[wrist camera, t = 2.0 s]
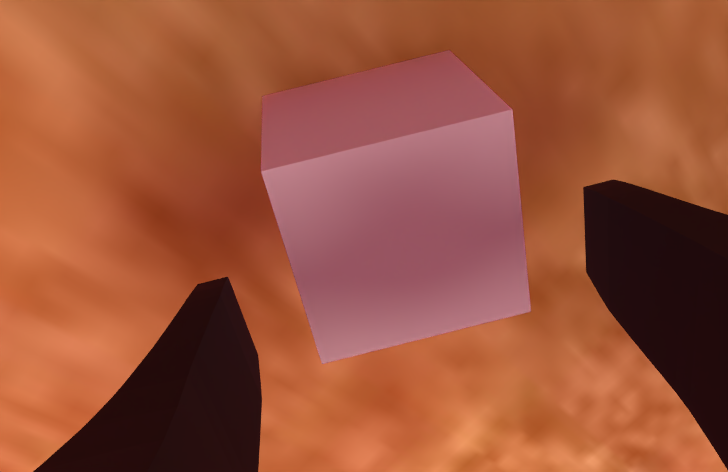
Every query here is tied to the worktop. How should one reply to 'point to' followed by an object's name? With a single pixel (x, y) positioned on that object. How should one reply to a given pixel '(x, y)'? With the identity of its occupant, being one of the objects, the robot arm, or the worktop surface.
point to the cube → (397, 203)
